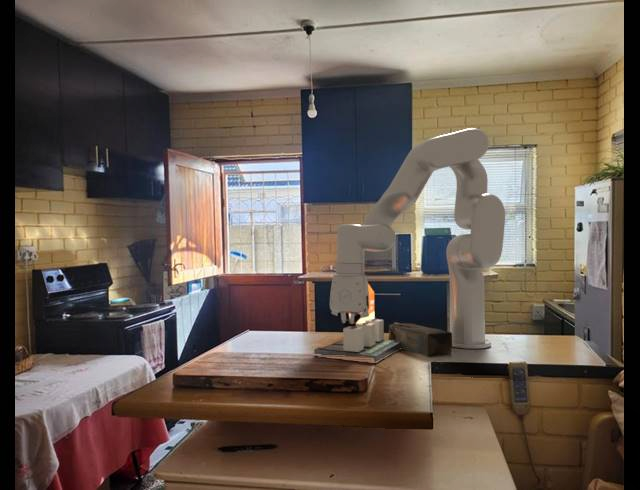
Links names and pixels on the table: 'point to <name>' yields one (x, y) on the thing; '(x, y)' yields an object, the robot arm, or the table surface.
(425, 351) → the beverage carton
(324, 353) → the panel
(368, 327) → the breaker mid
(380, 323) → the breaker
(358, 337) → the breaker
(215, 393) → the table surface
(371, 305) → the orange juice
